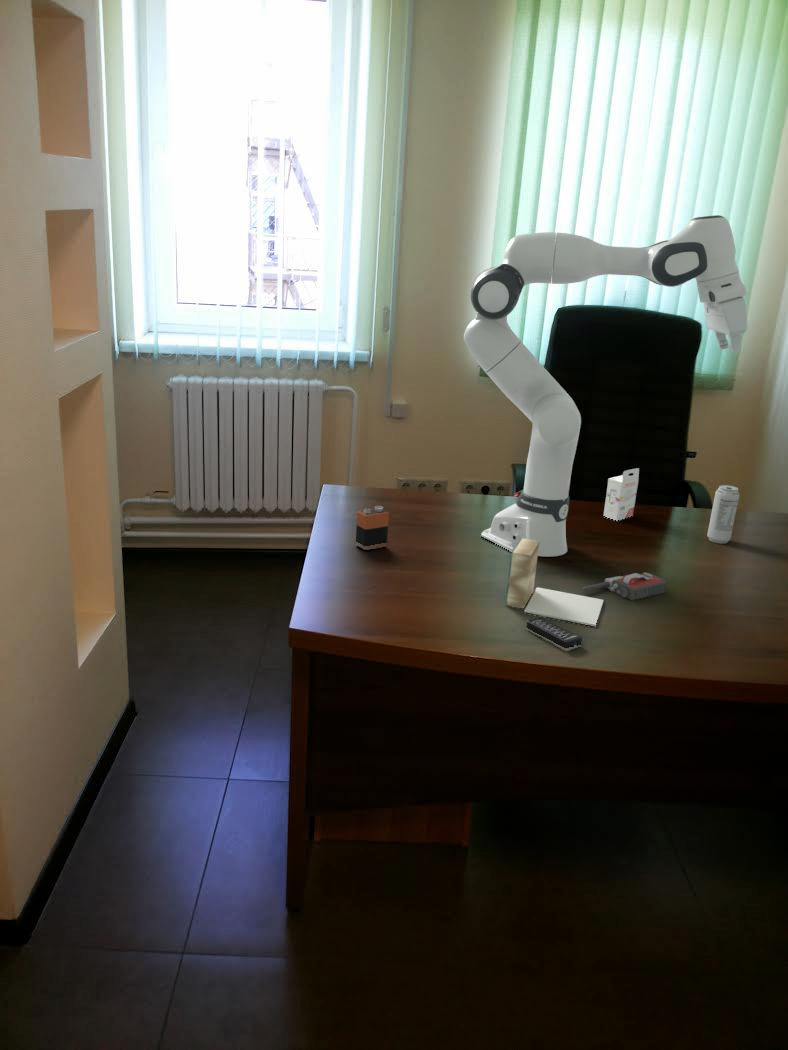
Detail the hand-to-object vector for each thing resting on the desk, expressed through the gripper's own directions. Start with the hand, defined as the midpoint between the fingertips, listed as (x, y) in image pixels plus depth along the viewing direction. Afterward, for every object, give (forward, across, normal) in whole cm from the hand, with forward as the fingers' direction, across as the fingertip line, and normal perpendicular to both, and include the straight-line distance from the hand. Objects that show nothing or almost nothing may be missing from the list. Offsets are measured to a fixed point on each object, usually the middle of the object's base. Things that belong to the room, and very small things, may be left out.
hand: (729, 350), depth 188 cm
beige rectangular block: (+35, +31, -58) cm, 75 cm away
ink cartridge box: (+46, -38, -29) cm, 66 cm away
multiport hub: (+38, +49, -53) cm, 81 cm away
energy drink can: (+54, -24, -5) cm, 59 cm away
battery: (+24, +8, -91) cm, 94 cm away
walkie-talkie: (+44, +21, -36) cm, 60 cm away
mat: (+38, +34, -49) cm, 71 cm away
